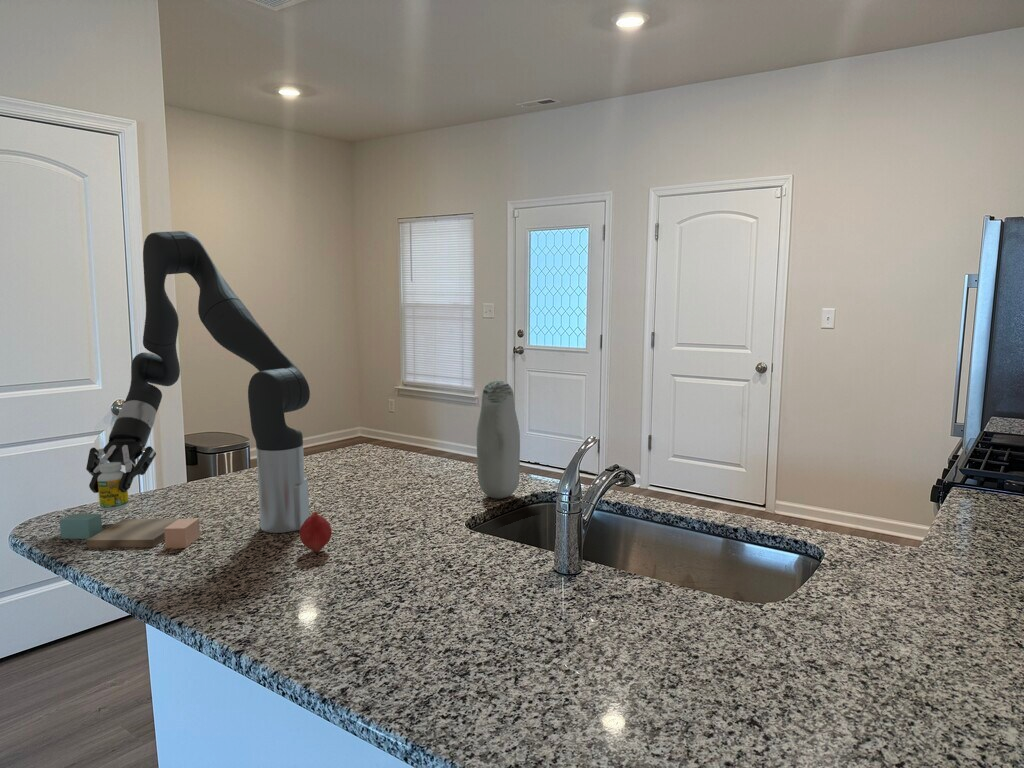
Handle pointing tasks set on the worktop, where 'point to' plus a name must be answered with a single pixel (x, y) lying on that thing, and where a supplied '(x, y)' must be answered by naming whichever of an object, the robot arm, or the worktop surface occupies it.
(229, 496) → the worktop surface
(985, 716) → the worktop surface
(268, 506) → the robot arm
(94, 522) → the teal block
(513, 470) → the grey bottle
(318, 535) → the onion
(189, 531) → the terracotta block
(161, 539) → the walnut board
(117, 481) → the supplement bottle
